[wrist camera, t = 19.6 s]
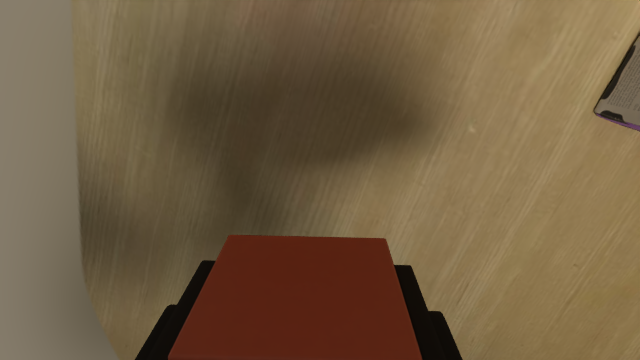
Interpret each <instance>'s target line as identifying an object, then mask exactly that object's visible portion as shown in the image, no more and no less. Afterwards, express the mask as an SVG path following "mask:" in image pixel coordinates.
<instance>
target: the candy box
mask: <svg viewBox="0 0 640 360" xmlns="http://www.w3.org/2000/svg"><path fill="white" fill-rule="evenodd" d="M594 112H595V113H596V115H597V116H599V117H601V118H604V119H606V120H609V121H612V122H614V123H617V124H620V125H622V126H625V127H628V128H632V129H635V130H637V131H640V35H639V37H638V39H637V40H636V42H635V43H634V45H633V47H632V48H631V50H630V52H629V53H628V55H627V56H626V58H625V60H624V62H623V64H622V66H621V67H620V69H619V70H618V72H617V74H616V75H615V77H614V79H613V80H612V82H611V83H610V84H609V86H608V88H607V89H606V91H605V93H604V94H603V96H602V98H601V100H600V101H599V103H598V105H597V106H596V108H595V110H594Z"/></svg>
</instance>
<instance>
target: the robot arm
mask: <svg viewBox="0 0 640 360" xmlns="http://www.w3.org/2000/svg"><path fill="white" fill-rule="evenodd" d="M215 262H216V261H208V260H203V261H202V262H201V263H200V265H199V267H198V269H197V270H196V272H195V274H194V276H193V277H192V279H191V281H190V283H189V285H188V286H187V288H186V290H185V292H184V293H183V295H182V297H181V299H180V300H179V302H178V304H177V305H169V306H167V308H166V309H165V310H164V312H163V314H162V315H161V317H160V319H159V320H158V322H157V324H156V325H155V327H154V329H153V330H152V332H151V334H150V335H149V337H148V339H147V340H146V342H145V344H144V345H143V347H142V349H141V350H140V352H139V354H138V355H137V357H136V359H135V360H168V355H169V353H170V351H171V349H172V347H173V345H174V343H175V341H176V339H177V337H178V335H179V333H180V331H181V329H182V327H183V325H184V323H185V321H186V319H187V317H188V315H189V313H190V311H191V309H192V307H193V305H194V303H195V301H196V299H197V297H198V295H199V293H200V291H201V289H202V287H203V285H204V283H205V281H206V279H207V277H208V275H209V274H210V272H211V270H212V268H213V266H214V264H215ZM394 267H395V270H396V274H397V277H398V280H399V284H400V287H401V290H402V294H403V297H404V300H405V304H406V307H407V310H408V313H409V317H410V320H411V323H412V327H413V330H414V333H415V337H416V340H417V343H418V347H419V350H420V353H421V356H422V360H462V357H461V355H460V353H459V350H458V348H457V346H456V343H455V341H454V339H453V336H452V334H451V332H450V329H449V327H448V325H447V322H446V320H445V318H444V316H443V314H442V313H441V312H440V311H428V309H427V307H426V304H425V301H424V299H423V296H422V293H421V291H420V288H419V285H418V283H417V280H416V277H415V275H414V272H413V269H412V267H411V266H410V265H394Z"/></svg>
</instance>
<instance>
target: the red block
mask: <svg viewBox="0 0 640 360" xmlns="http://www.w3.org/2000/svg"><path fill="white" fill-rule="evenodd" d="M168 360H422V356H421V353H420V350H419V347H418V343H417V340H416V337H415V333H414V330H413V327H412V323H411V320H410V317H409V313H408V310H407V307H406V304H405V300H404V297H403V294H402V290H401V287H400V284H399V280H398V277H397V274H396V270H395V267H394V264H393V261H392V257H391V254H390V251H389V247H388V244H387V241H386V239H384V238H348V237H305V236H262V235H229V236H228V238H227V240H226V242H225V244H224V246H223V248H222V250H221V252H220V254H219V256H218V258H217V260H216V262H215V264H214V266H213V268H212V270H211V272H210V274H209V275H208V277H207V279H206V281H205V283H204V285H203V287H202V289H201V291H200V293H199V295H198V297H197V299H196V301H195V303H194V305H193V307H192V309H191V311H190V313H189V315H188V317H187V319H186V321H185V323H184V325H183V327H182V329H181V331H180V333H179V335H178V337H177V339H176V341H175V343H174V345H173V347H172V349H171V351H170V353H169V355H168Z"/></svg>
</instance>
